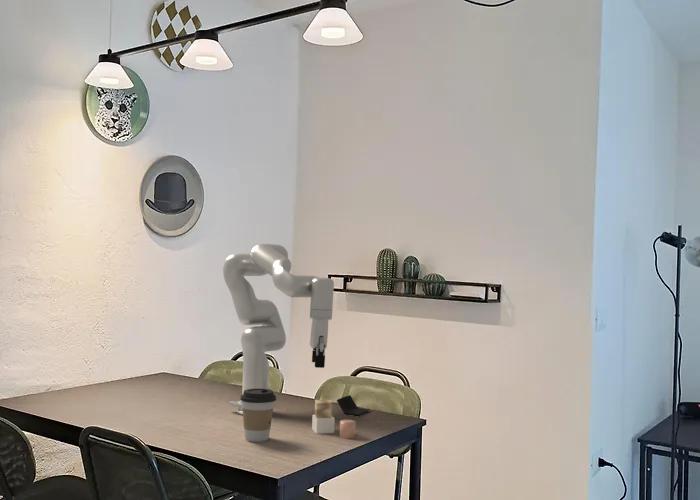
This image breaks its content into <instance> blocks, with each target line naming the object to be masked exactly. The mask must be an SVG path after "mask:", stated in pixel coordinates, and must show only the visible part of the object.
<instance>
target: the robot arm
mask: <svg viewBox="0 0 700 500" xmlns="http://www.w3.org/2000/svg"><path fill="white" fill-rule="evenodd" d="M222 270H223V271H222V274H223V279H224V282H225V284H226V286H227V288H228V290H229V292H230V295H231V298H232V302H233V304H234V308H235V312H236V315H237V318H238V321H239V322H240V324H242V325H244V326H251V327H248V328H246V329H245V330H243V332H242V333H241V338H240V343H241V348H242V360H243V361H242V385H241V386H242V389H241V392H242V394H241V395H243V393H244V390H247V389H256V388H260V389H269V382H270V381H269V379H270V377H269V376H270V362H269V359H268V357H267V355H266V352H275V351H280V350H282V349H283V348H284V347H285V344H286V342H287V341H286V340H287V337H286V336H287V335H286V331H285V328H284V325H283V323H282V319H281V316H280V312H279V310H278V308H277V306H276V305H275V303H274V302H272V301H271V300H269V299H258V298H257V296H256V294H255V291H254V288H253V286H252V285H251V283H250V282H249V281H248V280H247V279H246V277H262V276H266V275H267V274H268V275H270V276H271V277H272V282H273V284H274V286H275V288H277V290H279V291H280V292H282V293H283V294H284V295H286V296H288V297H290V298H310V306H309V307H310V308H309V319H310V320H311V319H312V320H311V328H310V340H309V341H310V342H309V345H310V348H312V352H311V353H312V355H311V363H314V367H315V368H318V369H319V368H321V369H322V368H323V369H324V368H325V365H326V364H325V363H326V355H325V354H326V351H325V350H326V349H327V346H328V335H329V321H331V320H332V319H333V307H334V306H333V305H334V304H333V303H334V288H335V282H334V280H333V279H332V278H329V277H319V276H316V275H303V274H302V275H299V274H298V275H297V274H296V275H295V274H293V273H290V272H291V270H292V262H291V260H290V259H289V252H288V249H286V248H285V247H284V246H283V245H282V244H281V245H280V244H275V243H274V244H272V243H271V244H270V243H258V244H257V245H255V246H254V247H252V249H251V251H250V253H241V252H240V253H233V254H230V255H229V256H227V257H226V259H225V261H224V262H223V267H222ZM228 403H229V404H228V405H229V406H228V407H230V408H237V410H236V412H237V413H236V414H239V415H242V416H243V410H242V401H241V400H237V401H233V400H232V401H230V400H229V402H228Z"/></svg>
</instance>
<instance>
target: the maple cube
mask: <svg viewBox="0 0 700 500" xmlns="http://www.w3.org/2000/svg"><path fill="white" fill-rule="evenodd" d="M314 402H315V403H314V415H315V416H316V418H331V415H332V410H333V409H332V408H333V405H332V404H333V403H332V402H333V401H332V400H330V399H315V400H314Z"/></svg>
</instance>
